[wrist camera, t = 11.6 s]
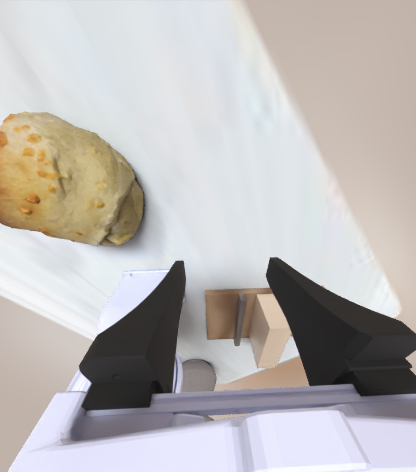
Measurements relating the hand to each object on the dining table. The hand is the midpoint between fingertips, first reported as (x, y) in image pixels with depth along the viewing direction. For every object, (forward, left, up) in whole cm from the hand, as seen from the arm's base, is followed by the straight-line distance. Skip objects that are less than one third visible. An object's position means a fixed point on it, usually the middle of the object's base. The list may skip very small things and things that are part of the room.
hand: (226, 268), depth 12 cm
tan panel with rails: (+9, -21, -9) cm, 25 cm away
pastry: (-15, +5, -10) cm, 19 cm away
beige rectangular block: (+9, -20, -8) cm, 24 cm away
